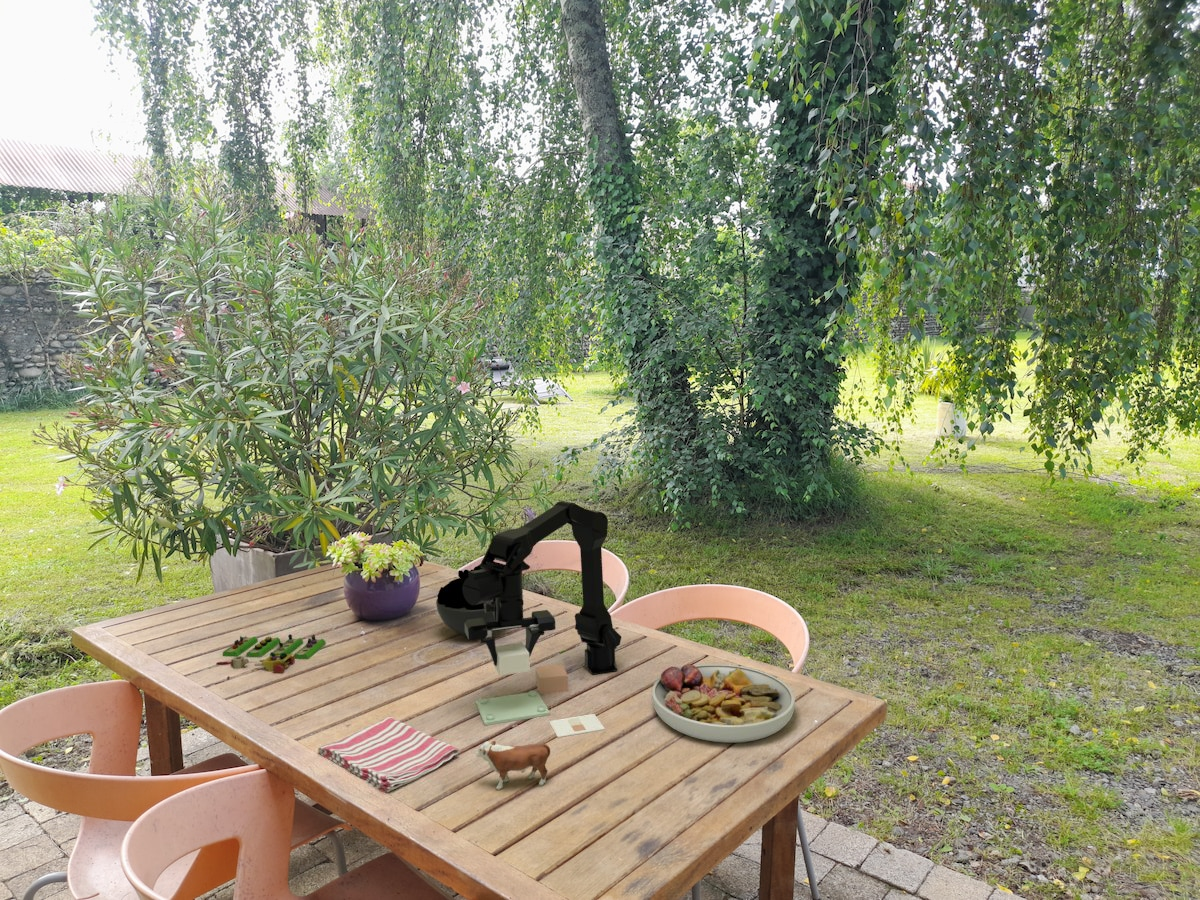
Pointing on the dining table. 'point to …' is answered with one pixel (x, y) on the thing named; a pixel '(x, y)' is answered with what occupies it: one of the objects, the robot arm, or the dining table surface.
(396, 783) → the dish towel
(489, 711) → the plate
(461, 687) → the dining table surface
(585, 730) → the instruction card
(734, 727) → the bowl
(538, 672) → the terracotta brick
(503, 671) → the cream brick
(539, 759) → the bull figurine
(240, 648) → the toy garden set
